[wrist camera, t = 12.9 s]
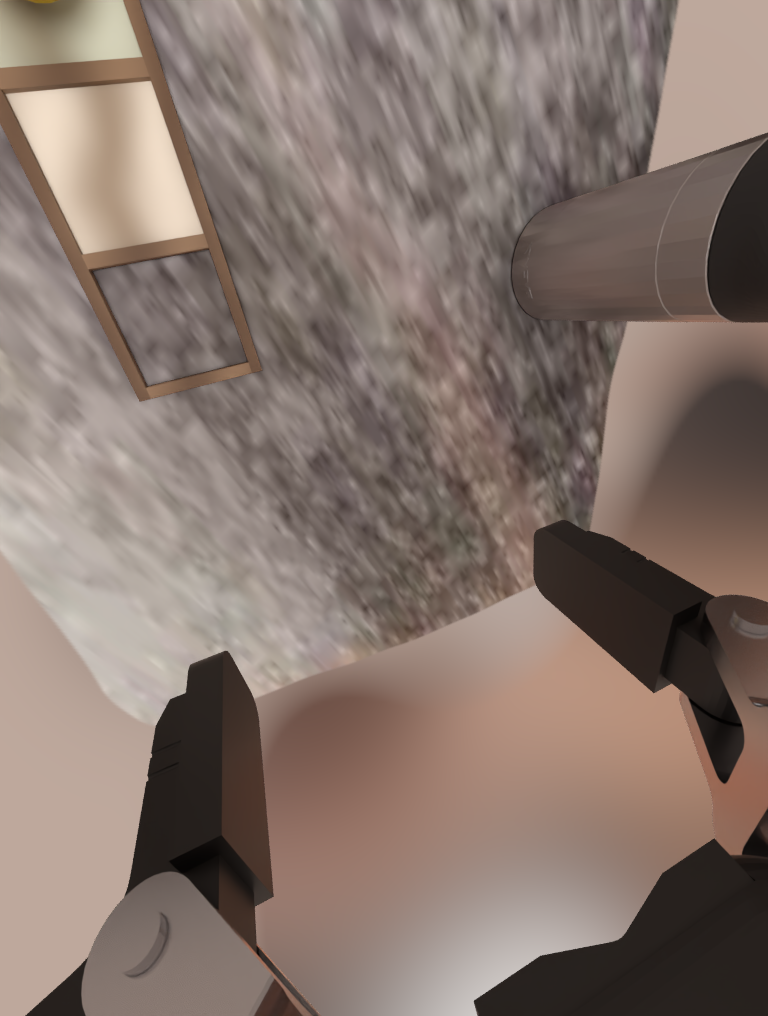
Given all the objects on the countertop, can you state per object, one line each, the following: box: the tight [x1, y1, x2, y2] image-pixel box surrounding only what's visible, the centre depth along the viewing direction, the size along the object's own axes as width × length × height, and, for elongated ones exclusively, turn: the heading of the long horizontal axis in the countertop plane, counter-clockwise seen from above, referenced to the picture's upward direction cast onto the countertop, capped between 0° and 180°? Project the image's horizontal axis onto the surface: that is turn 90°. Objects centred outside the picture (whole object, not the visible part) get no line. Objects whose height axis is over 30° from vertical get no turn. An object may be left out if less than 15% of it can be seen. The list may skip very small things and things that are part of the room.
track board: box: [0, 0, 262, 401], centre depth 24 cm, size 9×26×1 cm, turn 11°
